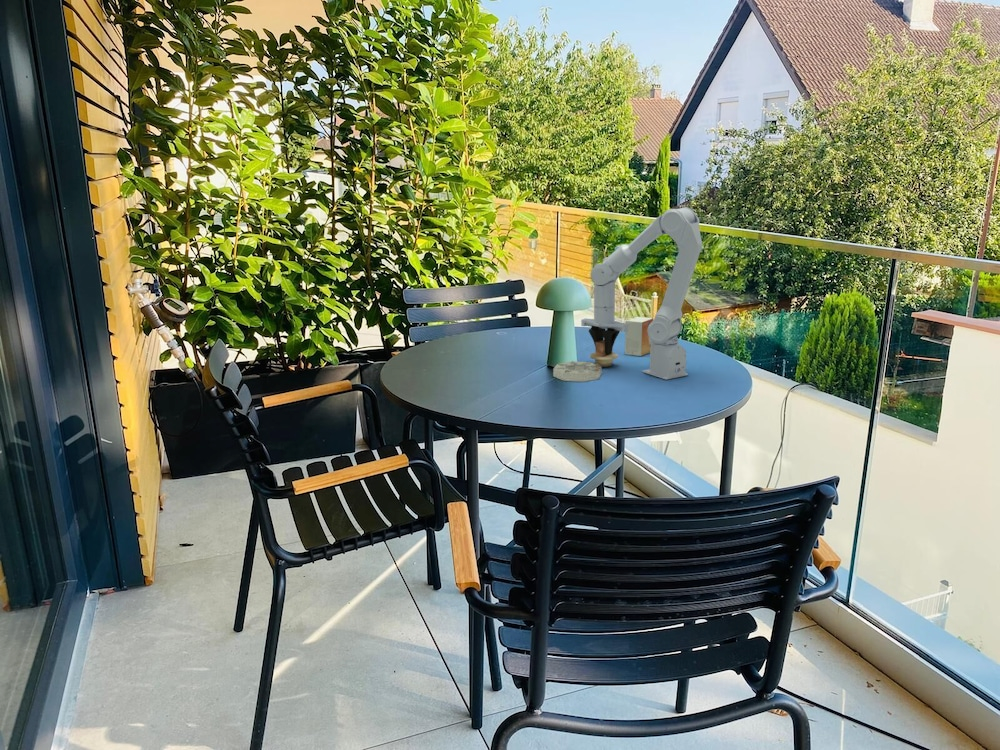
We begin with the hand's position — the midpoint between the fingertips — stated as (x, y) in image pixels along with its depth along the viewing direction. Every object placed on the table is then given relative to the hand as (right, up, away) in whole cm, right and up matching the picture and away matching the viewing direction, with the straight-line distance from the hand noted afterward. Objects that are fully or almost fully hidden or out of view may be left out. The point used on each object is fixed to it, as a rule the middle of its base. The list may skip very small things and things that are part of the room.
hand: (603, 353), depth 201 cm
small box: (+13, 0, +15) cm, 19 cm away
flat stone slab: (-8, -6, -8) cm, 13 cm away
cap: (0, -3, +1) cm, 3 cm away
